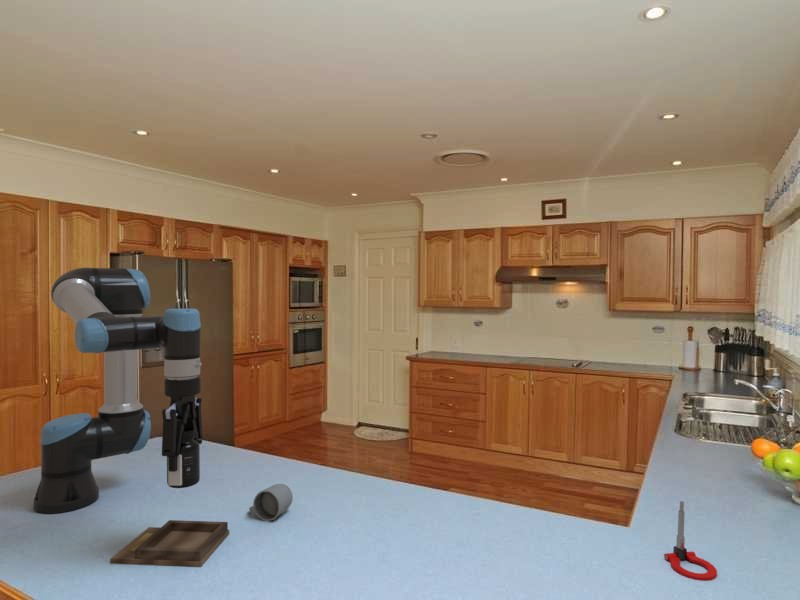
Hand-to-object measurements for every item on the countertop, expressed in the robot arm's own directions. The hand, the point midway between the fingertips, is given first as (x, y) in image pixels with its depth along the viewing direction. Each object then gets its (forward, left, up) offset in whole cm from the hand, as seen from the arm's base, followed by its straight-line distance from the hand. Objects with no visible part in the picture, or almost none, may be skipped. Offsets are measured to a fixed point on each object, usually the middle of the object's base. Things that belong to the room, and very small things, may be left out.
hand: (183, 478), depth 118 cm
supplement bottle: (0, 0, -1) cm, 1 cm away
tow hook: (+110, 0, -16) cm, 112 cm away
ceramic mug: (+13, +19, -16) cm, 28 cm away
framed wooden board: (-3, 0, -16) cm, 16 cm away
